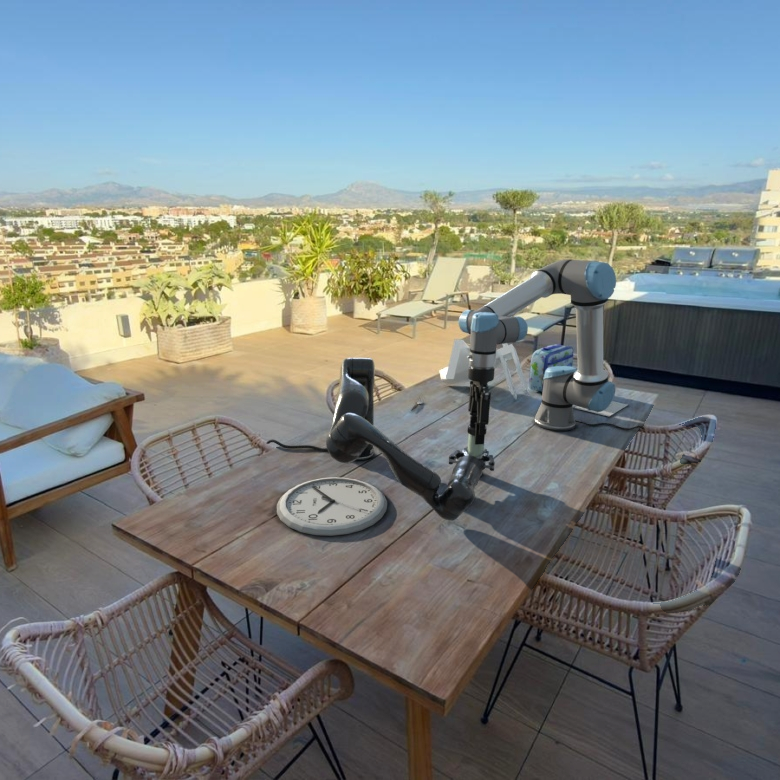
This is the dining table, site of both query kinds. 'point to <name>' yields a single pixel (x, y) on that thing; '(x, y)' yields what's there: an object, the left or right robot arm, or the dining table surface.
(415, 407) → the fork
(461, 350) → the white plastic object
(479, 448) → the jar
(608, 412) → the invitation card
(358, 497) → the wall clock
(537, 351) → the lunch box
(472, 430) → the lid
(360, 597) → the dining table surface
